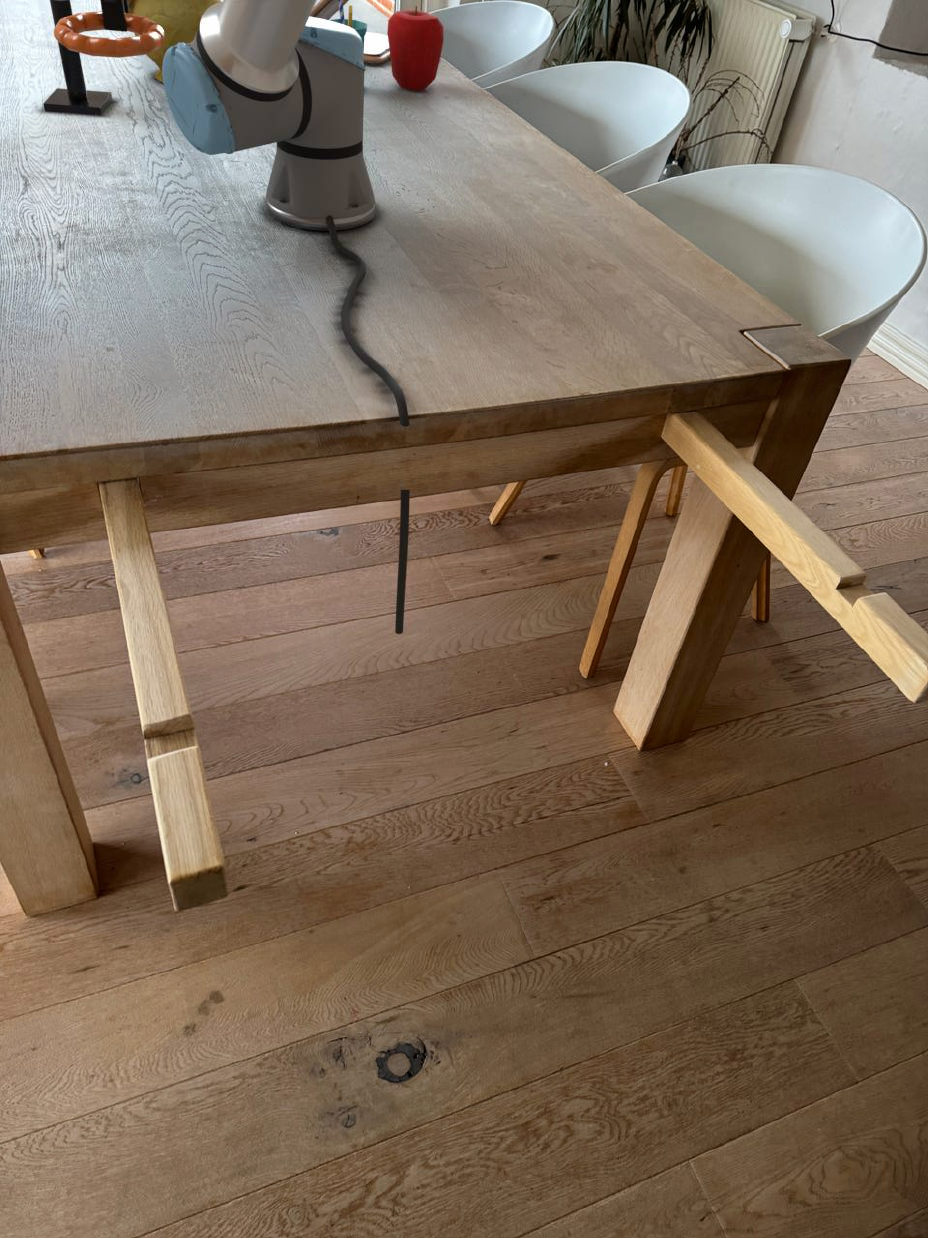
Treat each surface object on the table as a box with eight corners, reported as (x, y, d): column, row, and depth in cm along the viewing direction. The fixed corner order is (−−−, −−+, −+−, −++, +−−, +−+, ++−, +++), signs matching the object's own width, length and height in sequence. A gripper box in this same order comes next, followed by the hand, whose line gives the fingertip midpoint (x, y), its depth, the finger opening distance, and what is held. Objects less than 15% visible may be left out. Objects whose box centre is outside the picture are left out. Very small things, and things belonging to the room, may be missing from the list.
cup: (315, 77, 178) (313, -15, 167) (353, 76, 180) (353, -15, 170) (337, 98, 169) (336, 2, 158) (377, 97, 171) (379, 3, 161)
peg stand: (101, 115, 151) (82, 6, 140) (44, 111, 150) (21, 1, 139) (112, 99, 157) (95, -6, 146) (58, 95, 156) (37, -11, 145)
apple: (450, 89, 180) (455, 8, 170) (415, 97, 174) (419, 13, 164) (410, 76, 184) (413, -4, 175) (375, 83, 178) (377, 1, 169)
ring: (160, 62, 113) (157, 43, 111) (48, 55, 111) (44, 36, 109) (168, 31, 122) (166, 13, 120) (66, 24, 119) (62, 6, 118)
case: (321, 32, 204) (319, -56, 193) (410, 47, 201) (413, -42, 190) (284, 51, 189) (279, -43, 178) (379, 67, 186) (381, -27, 175)
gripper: (63, -223, 108) (100, 10, 124) (31, -215, 97) (75, 39, 114) (129, -215, 109) (156, 15, 125) (104, -206, 98) (137, 44, 115)
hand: (118, 26), depth 120 cm, fingers closed on ring, 2 cm apart
